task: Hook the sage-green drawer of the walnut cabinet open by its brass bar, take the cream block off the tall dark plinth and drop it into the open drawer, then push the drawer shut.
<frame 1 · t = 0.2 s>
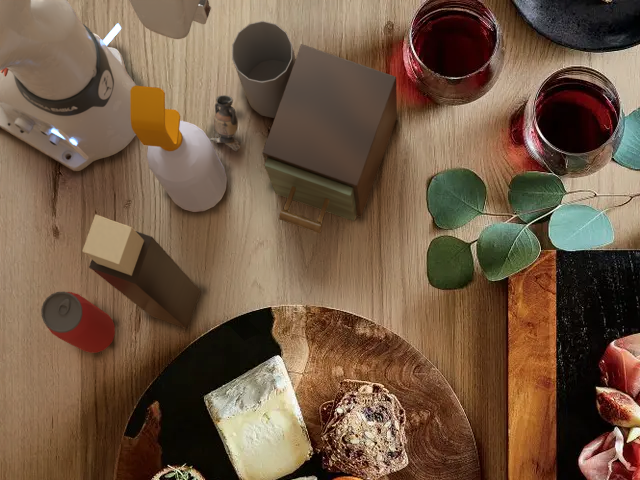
vase: (230, 130, 122), on the table
cup: (273, 90, 122), on the table
cabinet: (336, 152, 122), on the table
beer can: (95, 332, 123), on the table
soap bottle: (197, 183, 122), on the table
drawer: (322, 162, 116), point 6 cm above the table, slide at 0.0 cm
plinth: (175, 303, 122), on the table
block: (120, 251, 98), point 24 cm above the table, touching plinth
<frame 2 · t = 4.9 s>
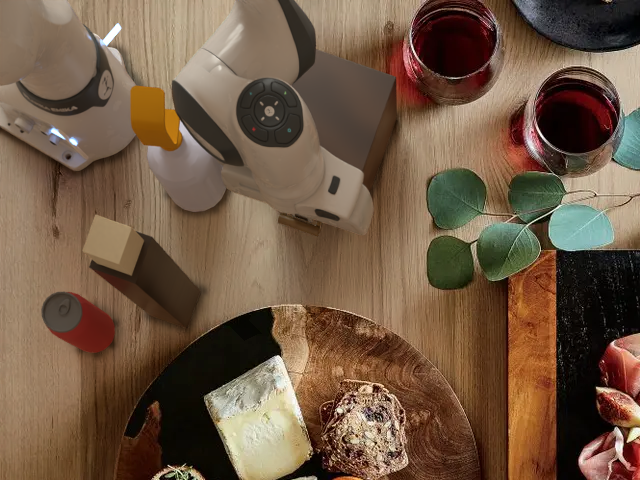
hand: (304, 214, 115), 7 cm above the table, tool pointing down, fingers closed
drawer: (321, 166, 116), point 6 cm above the table, slide at 0.6 cm
everything else where it was.
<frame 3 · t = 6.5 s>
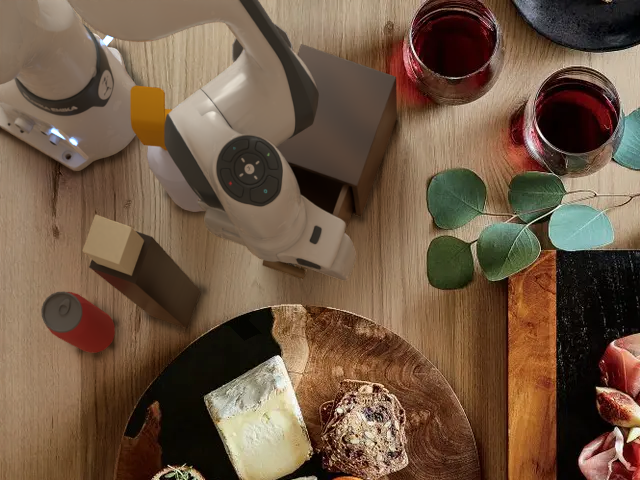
hand: (287, 257, 116), 6 cm above the table, tool pointing down, fingers closed
drawer: (306, 208, 116), point 6 cm above the table, slide at 6.9 cm
everything else where it was.
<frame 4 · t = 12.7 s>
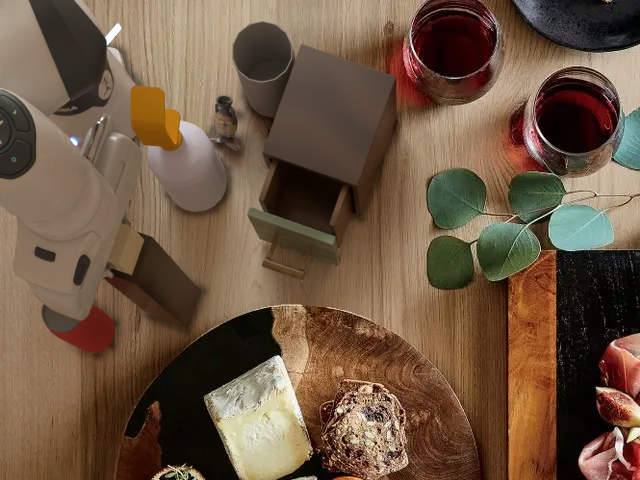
hand: (116, 247, 97), 25 cm above the table, tool pointing down, fingers closed on block, 4 cm apart
block: (120, 251, 98), point 24 cm above the table, touching gripper, plinth
everything else where it was.
when the fingers open (11 cm above the table, at t = 21.0 s): block drops 8 cm, resting on drawer.
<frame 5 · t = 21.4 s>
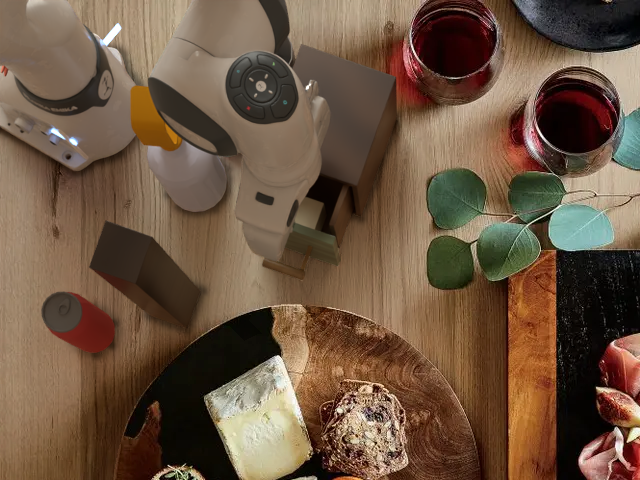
hand: (297, 200, 110), 11 cm above the table, tool pointing down, fingers open, 6 cm apart
drawer: (305, 209, 116), point 6 cm above the table, slide at 7.1 cm, touching block
block: (307, 224, 120), point 2 cm above the table, touching drawer
everything else where it was.
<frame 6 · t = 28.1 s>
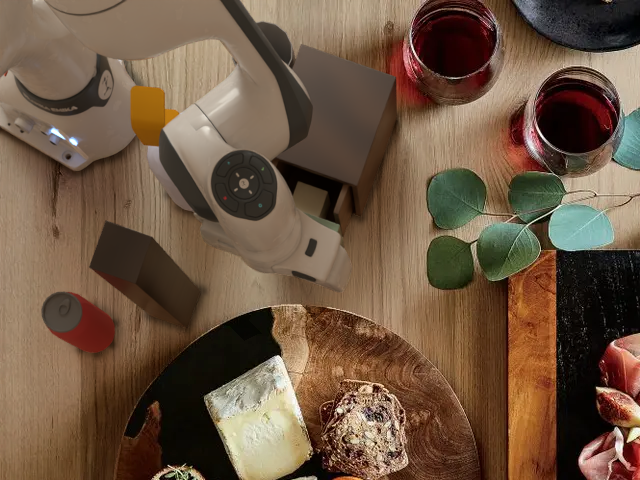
hand: (284, 268, 116), 6 cm above the table, tool pointing down, fingers closed, pressing on drawer
drawer: (310, 198, 116), point 6 cm above the table, slide at 5.3 cm, touching block, gripper
block: (311, 213, 120), point 2 cm above the table, touching drawer
everything else where it was.
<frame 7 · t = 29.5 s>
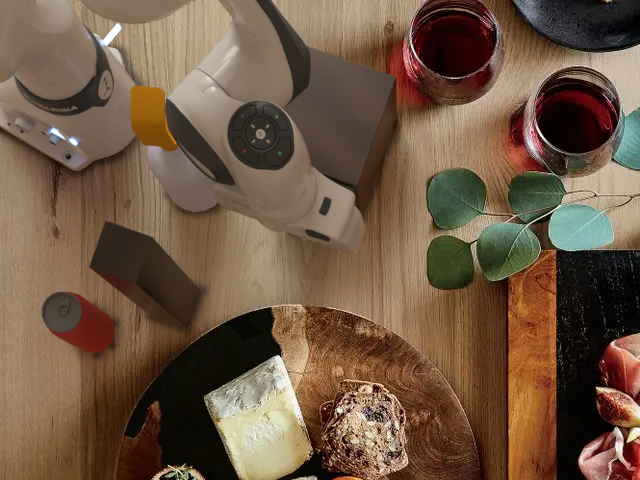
hand: (296, 232, 116), 6 cm above the table, tool pointing down, fingers closed, pressing on drawer
drawer: (322, 162, 116), point 6 cm above the table, slide at 0.0 cm, touching block, cabinet, gripper
block: (323, 178, 120), point 2 cm above the table, touching drawer
everything else where it was.
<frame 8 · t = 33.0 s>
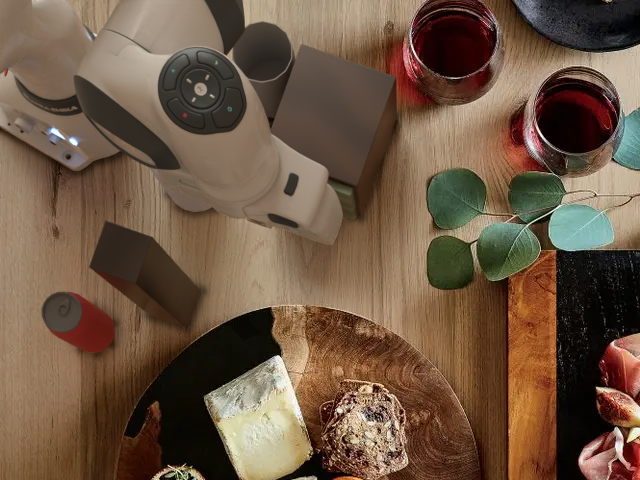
hand: (262, 219, 97), 25 cm above the table, tool pointing down, fingers closed
drawer: (322, 162, 116), point 6 cm above the table, slide at 0.0 cm, touching block, cabinet
everything else where it was.
at the end: drawer pulled out 7.1 cm at the most during the clip, back to where it started at the end; block inside the target area in the cabinet (4.9 cm from its centre), point 2.0 cm above the cabinet's base; drawer slide at 0.0 cm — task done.
